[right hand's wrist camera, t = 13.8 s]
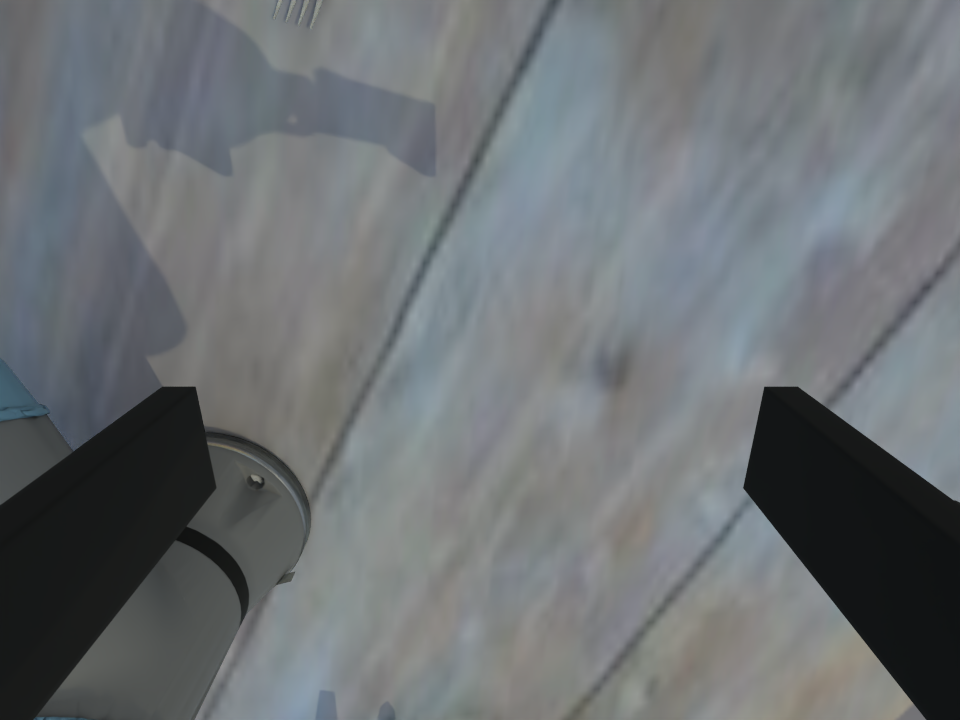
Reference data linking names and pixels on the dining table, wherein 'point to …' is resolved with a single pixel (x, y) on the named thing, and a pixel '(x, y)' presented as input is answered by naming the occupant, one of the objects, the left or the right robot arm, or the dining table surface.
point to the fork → (305, 4)
